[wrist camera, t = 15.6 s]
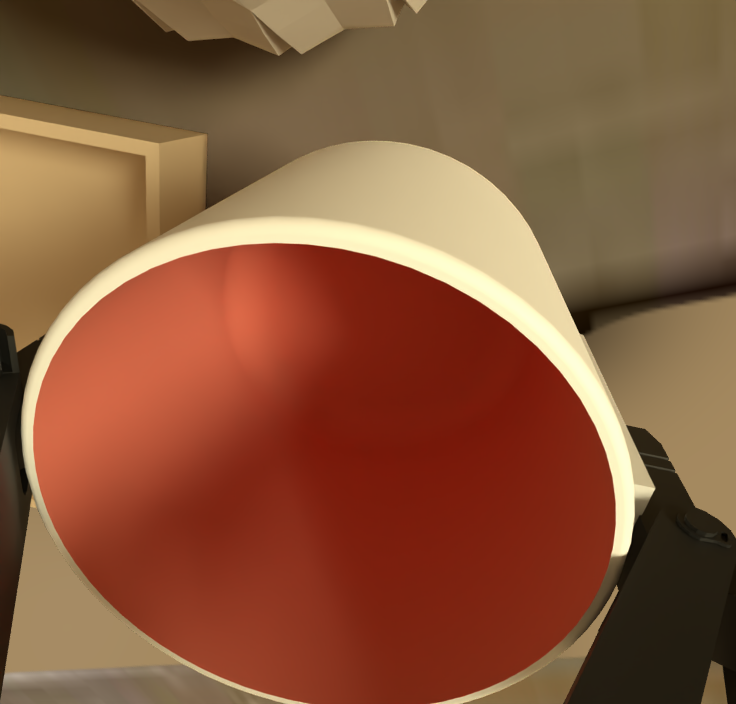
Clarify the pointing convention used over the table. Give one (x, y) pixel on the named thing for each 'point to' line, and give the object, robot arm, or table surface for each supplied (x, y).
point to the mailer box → (83, 201)
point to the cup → (336, 438)
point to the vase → (273, 19)
